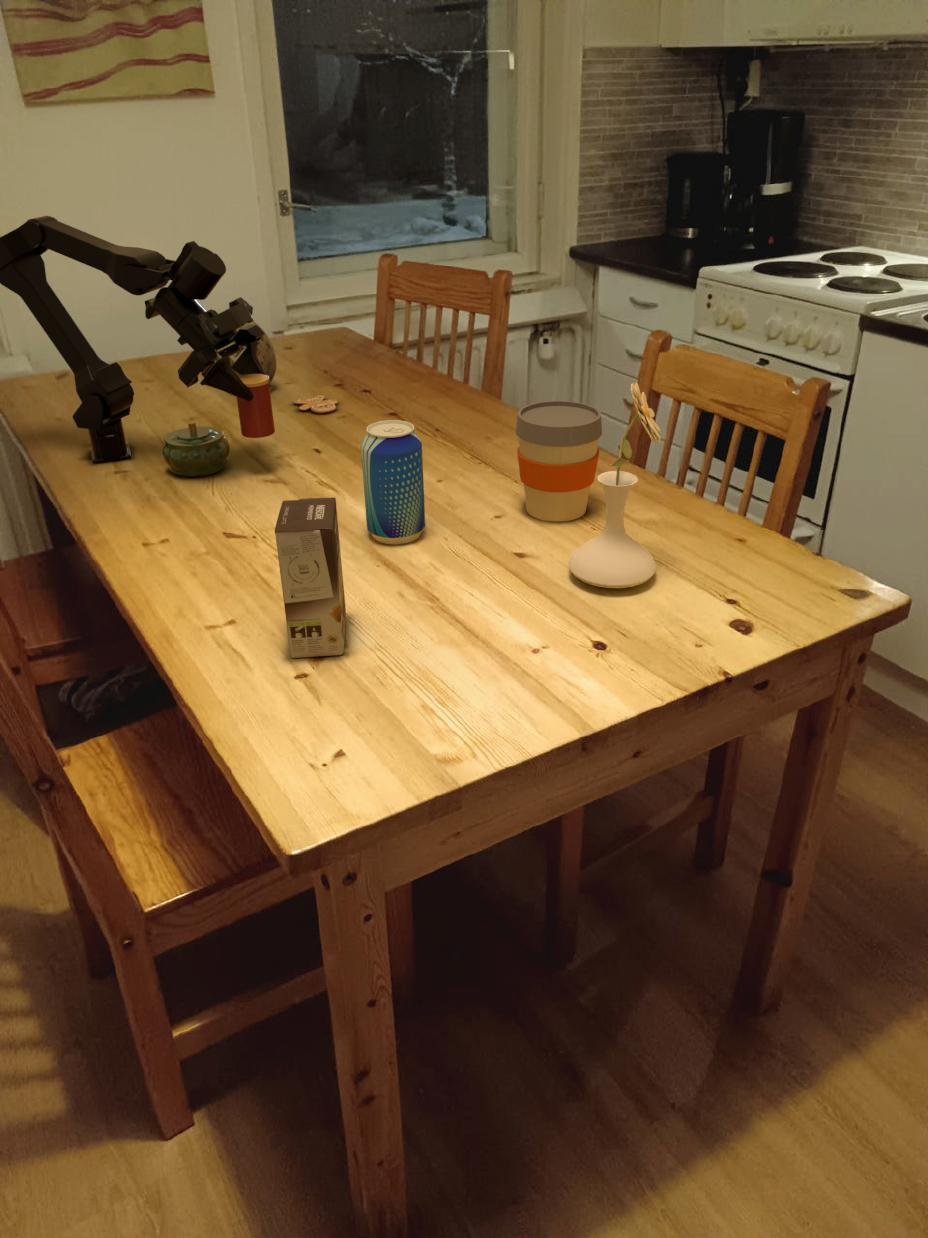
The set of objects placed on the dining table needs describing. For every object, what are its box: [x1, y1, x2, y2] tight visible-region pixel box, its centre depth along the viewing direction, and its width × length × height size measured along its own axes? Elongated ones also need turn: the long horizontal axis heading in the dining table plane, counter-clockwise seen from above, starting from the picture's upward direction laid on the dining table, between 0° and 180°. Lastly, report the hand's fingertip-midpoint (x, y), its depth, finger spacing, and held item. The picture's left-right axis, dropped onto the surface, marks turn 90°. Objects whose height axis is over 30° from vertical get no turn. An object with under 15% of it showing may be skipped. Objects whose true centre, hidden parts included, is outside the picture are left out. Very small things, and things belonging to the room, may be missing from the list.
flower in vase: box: [567, 381, 662, 589], centre depth 121 cm, size 13×11×25 cm
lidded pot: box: [162, 421, 231, 478], centre depth 161 cm, size 11×11×8 cm
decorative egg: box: [225, 320, 277, 384], centre depth 197 cm, size 11×11×15 cm
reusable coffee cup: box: [515, 400, 603, 523], centre depth 142 cm, size 13×12×15 cm
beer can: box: [360, 419, 426, 545], centre depth 135 cm, size 8×8×16 cm
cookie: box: [293, 395, 338, 414], centre depth 191 cm, size 8×1×10 cm
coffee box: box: [274, 496, 347, 659], centre depth 110 cm, size 9×6×16 cm
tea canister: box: [235, 374, 276, 439], centre depth 155 cm, size 6×6×9 cm
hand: (260, 393), depth 154 cm, fingers closed on tea canister, 5 cm apart
